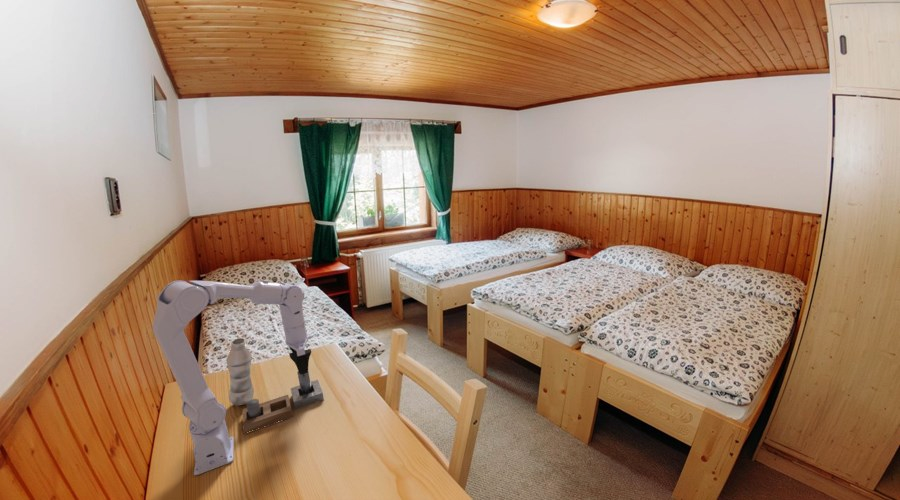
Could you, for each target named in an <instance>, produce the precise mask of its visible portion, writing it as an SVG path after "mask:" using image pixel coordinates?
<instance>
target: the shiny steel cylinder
mask: <svg viewBox="0 0 900 500" xmlns="http://www.w3.org/2000/svg"><path fill="white" fill-rule="evenodd" d="M309 372H310V371H308V373H305V374H301V375H300V373H299V371H298V370H297V378H298V382H299V385H300V389H301V394H302V396H303V395H306V394H309V393H312V388H311V383H310V382H311V378H310V373H309Z"/></svg>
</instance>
